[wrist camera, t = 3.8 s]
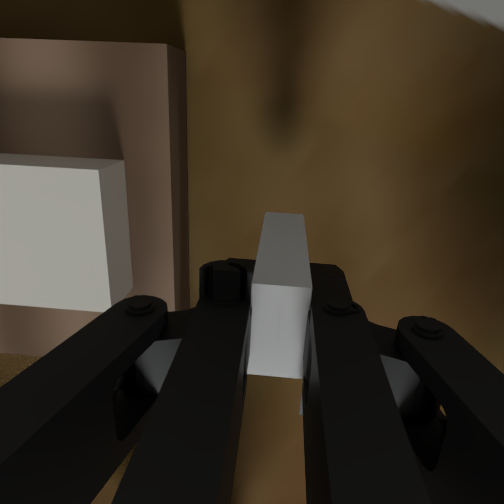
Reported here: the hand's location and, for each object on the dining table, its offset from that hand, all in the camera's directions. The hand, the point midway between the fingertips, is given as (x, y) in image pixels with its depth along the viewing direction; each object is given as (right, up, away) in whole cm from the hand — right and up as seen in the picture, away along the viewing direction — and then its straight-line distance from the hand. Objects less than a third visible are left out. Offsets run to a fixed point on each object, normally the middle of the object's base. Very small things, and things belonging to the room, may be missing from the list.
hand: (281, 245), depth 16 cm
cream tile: (-10, +1, +2) cm, 10 cm away
